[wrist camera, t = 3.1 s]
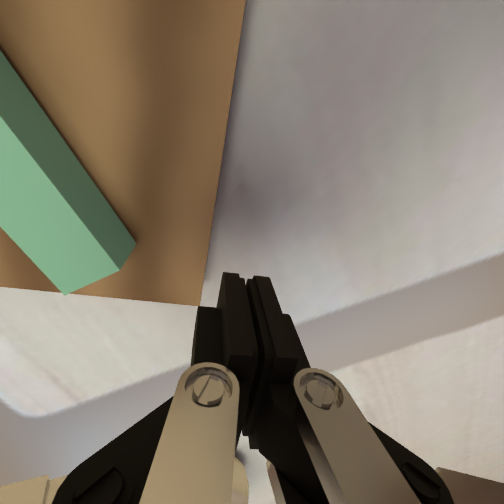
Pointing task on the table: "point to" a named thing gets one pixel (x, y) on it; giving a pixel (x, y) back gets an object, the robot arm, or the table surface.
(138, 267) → the stool seat
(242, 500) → the plastic bottle
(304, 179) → the table surface
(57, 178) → the folding leg
